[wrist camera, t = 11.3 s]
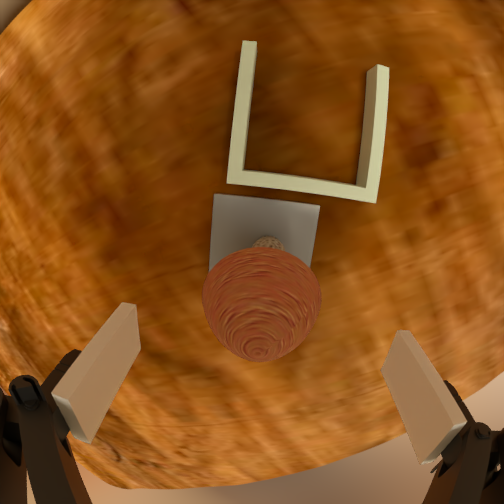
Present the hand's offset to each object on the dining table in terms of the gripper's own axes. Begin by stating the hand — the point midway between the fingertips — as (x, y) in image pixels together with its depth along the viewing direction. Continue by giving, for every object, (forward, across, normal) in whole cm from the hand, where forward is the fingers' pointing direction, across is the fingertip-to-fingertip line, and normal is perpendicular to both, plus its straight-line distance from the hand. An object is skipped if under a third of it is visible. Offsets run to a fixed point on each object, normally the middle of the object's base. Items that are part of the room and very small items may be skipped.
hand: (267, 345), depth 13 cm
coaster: (+16, 0, -1) cm, 17 cm away
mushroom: (+16, 0, 0) cm, 16 cm away
